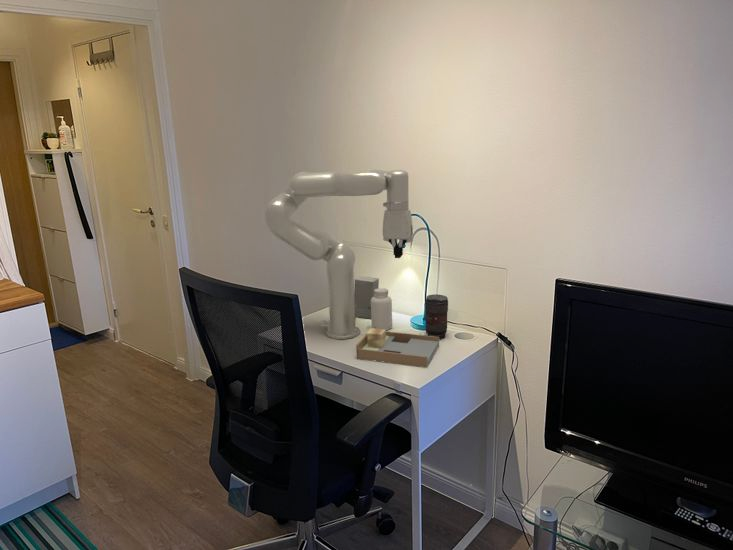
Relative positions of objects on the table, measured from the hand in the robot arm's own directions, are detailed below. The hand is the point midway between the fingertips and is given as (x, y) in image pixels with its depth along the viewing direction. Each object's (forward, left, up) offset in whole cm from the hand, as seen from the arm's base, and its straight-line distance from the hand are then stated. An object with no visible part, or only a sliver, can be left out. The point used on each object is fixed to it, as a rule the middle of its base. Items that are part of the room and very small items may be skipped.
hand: (398, 257), depth 202 cm
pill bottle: (-8, +4, -29) cm, 31 cm away
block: (-3, -17, -27) cm, 32 cm away
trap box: (+5, -17, -29) cm, 34 cm away
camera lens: (+14, +1, -29) cm, 32 cm away
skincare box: (-18, +15, -29) cm, 38 cm away
